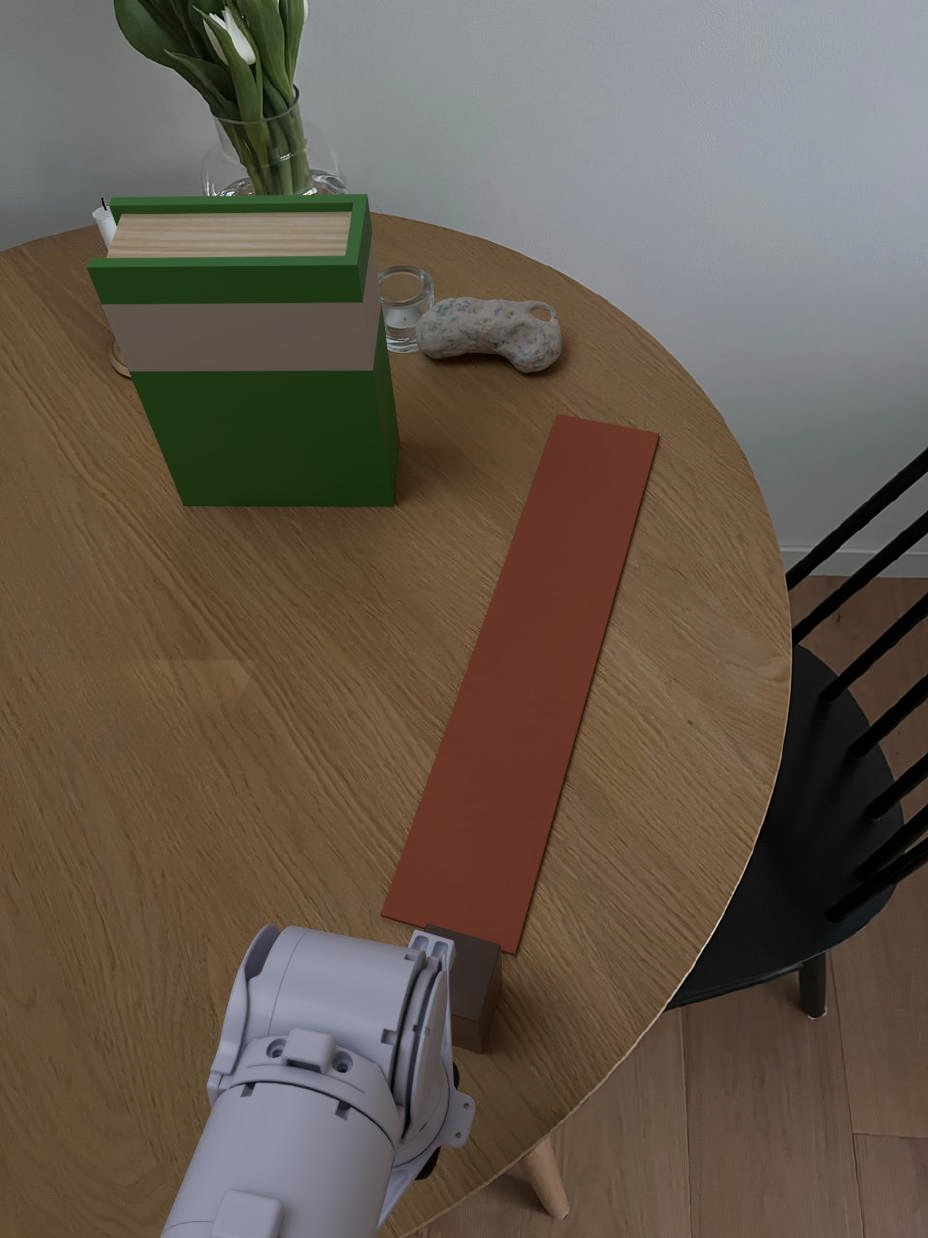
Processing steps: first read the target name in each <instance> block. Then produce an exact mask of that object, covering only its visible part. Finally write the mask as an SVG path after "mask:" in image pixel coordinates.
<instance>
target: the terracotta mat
mask: <svg viewBox="0 0 928 1238" xmlns="http://www.w3.org/2000/svg"><path fill="white" fill-rule="evenodd" d="M659 439H660V433H659V432H656V431H655V432H654V431H650V430H644V429H639V428H634V427H629V426H623V425H617V424H613V423H608V422H602V421H597V420H593V419H588V418H587V419H586V418H581V417H576V416H572V415H571V416H570V415H566V414H559V413H557V414H556V415H555V418H554V422H553V424H552V427H551V430H550V433H549V435H548V438H547V441H546V444H545V447H544V449H543V452H542V455H541V458H540V461H539V464H538V467H537V470H536V473H535V475H534V478H533V480H532V484H531V486H530V489H529V493H528V495H527V498H526V501H525V504H524V506H523V509H522V512H521V515H520V517H519V520H518V524H517V525H516V529H515V531H514V535H513V538H512V540H511V543H510V546H509V550H508V551H507V554H506V557H505V560H504V563H503V565H502V568H501V571H500V574H499V578H498V580H497V583H496V586H495V589H494V592H493V594H492V597H491V600H490V602H489V606H488V609H487V611H486V614H485V617H484V619H483V623H482V626H481V628H480V631H479V634H478V636H477V639H476V642H475V644H474V645H475V646H474V648H473V651H472V653H471V656H470V659H469V662H468V665H467V668H466V670H465V674H464V677H463V678H462V682H461V684H460V688H459V691H458V693H457V696H456V699H455V702H454V706H453V708H452V710H451V713H450V716H449V718H448V722H447V724H446V727H445V730H444V733H443V735H442V739H441V742H440V744H439V747H438V750H437V753H436V756H435V759H434V762H433V764H432V766H431V770H430V773H429V775H428V778H427V781H426V784H425V787H424V790H423V792H422V796H421V799H420V801H419V804H418V807H417V808H416V809H417V810H416V813H415V815H414V818H413V821H412V823H411V827H410V830H409V832H408V835H407V838H406V840H405V843H404V846H403V849H402V852H401V855H400V858H399V861H398V863H397V866H396V870H395V872H394V874H393V877H392V880H391V883H390V885H389V889H388V892H387V895H386V898H385V900H384V903H383V906H382V908H381V911H380V917H382V918H384V919H385V918H386V919H389V920H392V921H394V922H395V921H396V922H399V923H403V924H405V925H409V926H413V927H416V928H418V929H423V930H425V927H426V924H427V923H429V924H432V925H436V926H439V927H443V928H446V929H449V930H453V931H456V932H460V933H463V934H466V935H470V936H473V937H477V938H480V939H483V940H487V941H490V942H493V943H497V944H500V945H501V953H504V954H507V955H510V956H516V954H517V951H518V947H519V943H520V940H521V936H522V932H523V930H524V926H525V923H526V918H527V915H528V911H529V907H530V903H531V901H532V896H533V893H534V889H535V885H536V882H537V878H538V875H539V871H540V868H541V863H542V862H543V861H542V860H543V857H544V853H545V849H546V846H547V843H548V839H549V835H550V832H551V827H552V824H553V820H554V817H555V813H556V810H557V806H558V803H559V799H560V796H561V792H562V788H563V785H564V781H565V778H566V773H567V770H568V767H569V764H570V759H571V755H572V752H573V749H574V745H575V741H576V738H577V735H578V730H579V727H580V723H581V719H582V716H583V712H584V709H585V705H586V702H587V698H588V695H589V691H590V687H591V683H592V681H593V678H594V677H593V676H594V673H595V669H596V666H597V662H598V658H599V654H600V652H601V648H602V643H603V640H604V636H605V633H606V630H607V625H608V622H609V619H610V615H611V611H612V607H613V605H614V600H615V597H616V593H617V590H618V586H619V583H620V579H621V575H622V573H623V572H622V571H623V568H624V564H625V561H626V557H627V553H628V549H629V546H630V543H631V540H632V536H633V533H634V529H635V525H636V521H637V517H638V514H639V510H640V507H641V502H642V500H643V497H644V493H645V489H646V485H647V482H648V478H649V474H650V471H651V466H652V463H653V461H654V460H653V459H654V455H655V452H656V449H657V446H658V443H659Z"/></svg>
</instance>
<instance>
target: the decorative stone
mask: <svg viewBox="0 0 928 1238" xmlns="http://www.w3.org/2000/svg"><path fill="white" fill-rule="evenodd" d="M539 309H541V310H545V311H548V312H549V313H550V320H549V321H547V320H541V319H539V318H537V317H534V316H533V311H535V310H539ZM414 330H415V331H414V337H415V342H416V346H417V348H418V349H419V350H420V351H421V352H422V353H423V354H424V355H426V356H427V357H429V358H431V359H435V360H438V359H442V358H443V359H445V358H448V357H450V358H451V357H458V356H461V355H465V354H471V353H472V354H473V353H474V354H475V353H480V354H490V355H491V354H492V355H500V356H501V357H504V358H506V359H507V360H508V361H509V362H510V363H511V365H512V366H513V368H515V369H516V370H517V371H519V372H521V373H523V374H527V373H535V372H536V373H537V372H540V371H543V370H545V369H547V368H548V367H550V366H551V365H552V364H553V363H555V362H556V361H557V360H558V359H559V357H560V356H561V353H562V347H563V343H562V341H563V336H562V331H561V325H560V320H559V316H558V313H557V311H556V310H555V308H554V307H553V306H551V305H550V304H549V303H546V302H544V301H541V300H539V301H538V300H533V299H531V300H524V301H514V300H505V299H487V300H484V299H480V298H476V297H471V296H461V297H460V296H459V297H456V298H454V297H449V298H444V299H442V300H441V301H438V302H436V303H435V304H434V305H433V306H432V307H431V308H429V309H428V310H427V311H426V312H424V313H423V314H422V315H421V317H420V318H419V319H418V321H417V323H416V325H415V329H414Z"/></svg>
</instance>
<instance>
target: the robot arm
mask: <svg viewBox="0 0 928 1238" xmlns="http://www.w3.org/2000/svg"><path fill="white" fill-rule="evenodd" d="M455 956H456V949H455V943H454V941H453V940H450V939H446V938H443V937H440V936H436V935H433V934H429V933H426V932H424V931H423V930H419V929H414V930H413V932H412V935H411V938H410V940H409V942H408V945H407V946H402V945H396V944H392V943H386V942H382V941H376V940H372V939H366V938H361V937H355V936H351V935H345V934H341V933H340V934H339V933H334V932H330V931H325V930H320V929H319V930H318V929H314V928H309V927H305V926H299V925H294V924H291V925H288V926H287V927H285V928H284V929H283V930H282V931H280V929H279V927H278V926H277V925H276V924H274V923H267V924H266V925H264V926H263V927H262V928H260V930H259V931H258V932H257V934H256V935H255V936H254V938H253V939H252V941H251V943H250V945H249V946H248V948H247V951H246V953H245V955H244V957H243V959H242V961H241V963H240V966H239V967H238V970H237V973H236V976H235V978H234V982H233V985H232V989H231V991H230V994H229V999H228V1002H227V1007H226V1010H225V1014H224V1019H223V1022H222V1023H223V1024H222V1029H221V1035H220V1039H219V1044H218V1047H217V1051H216V1054H215V1057H214V1059H213V1061H212V1065H211V1067H210V1071H209V1072H210V1074H209V1077H208V1080H207V1083H206V1092H207V1096H208V1101H209V1104H210V1108H211V1110H210V1113H209V1116H208V1118H207V1121H206V1123H205V1126H204V1128H203V1131H202V1133H201V1136H200V1138H199V1140H198V1143H197V1146H196V1148H195V1150H194V1152H193V1155H192V1157H191V1160H190V1162H189V1165H188V1168H187V1170H186V1172H185V1174H184V1177H183V1180H182V1182H181V1184H180V1187H179V1189H178V1192H177V1194H176V1196H175V1200H174V1202H173V1204H172V1206H171V1209H170V1211H169V1214H168V1216H167V1219H166V1222H165V1224H164V1227H163V1229H162V1231H161V1233H160V1237H159V1238H376V1236H377V1235H378V1233H379V1232H380V1231H381V1229H382V1228H383V1226H384V1225H385V1223H386V1222H387V1220H388V1219H389V1217H390V1216H391V1215H392V1213H393V1211H394V1210H395V1209H396V1207H397V1206H398V1205H399V1203H400V1202H401V1200H402V1199H403V1197H404V1195H406V1193H407V1191H408V1190H409V1189H410V1188H411V1186H412V1184H413V1183H414V1181H422V1180H426V1179H428V1178H429V1177H430V1176H431V1174H432V1173H433V1172H434V1170H435V1168H436V1166H437V1163H438V1160H439V1157H440V1153H441V1149H442V1146H446V1147H450V1148H454V1149H460V1148H462V1147H464V1146H465V1145H466V1144H467V1142H468V1140H469V1138H470V1134H471V1130H472V1127H473V1124H474V1119H475V1116H476V1109H477V1107H476V1106H477V1105H476V1103H475V1100H474V1099H473V1098H472V1097H471V1096H470V1095H469V1094H466V1093H462V1092H460V1091H459V1085H460V1080H461V1074H460V1070H459V1068H458V1065H457V1064H456V1062H455V1061H454V1060H453V1059H454V1058H453V1056H454V1055H453V1045H452V1034H451V1011H450V989H449V979H450V970H451V968H452V966H453V962H454V959H455ZM466 1107H468V1108H466ZM458 1135H459V1136H460V1138H457V1136H458Z"/></svg>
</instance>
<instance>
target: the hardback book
mask: <svg viewBox="0 0 928 1238" xmlns="http://www.w3.org/2000/svg"><path fill="white" fill-rule="evenodd" d="M369 203H370V202H369V195H368V193H343V194H341V193H340V194H339V193H338V194H335V193H334V194H333V193H332V194H270V195H269V194H268V195H267V194H263V195H262V194H260V195H258V194H257V195H255V194H254V195H189V196H188V195H185V196H184V195H183V196H181V195H180V196H112V197H110V201H109V205H108V207H109V210H110V212H111V213H110V214H111V216H112V218H113V221H114V224H115V226H116V228H115V232H114V233H113V237H112V241H111V242H110V245H109V249H108V252H107V254H106V257H89V259H88V262H87V265H86V270H87V271H88V275H89V277H90V280H91V283H92V285H93V287H94V290H95V292H96V294H97V297H98V299H99V302H100V304H101V307H102V309H103V311H104V313H105V316H106V319H107V320H108V324H109V326H110V329H111V331H112V334H113V336H114V339H115V341H116V344H117V345H118V348H119V351H120V354H121V356H122V358H123V361H124V363H125V366H126V369H127V371H128V373H129V376H130V378H131V380H132V383H133V386H134V387H135V390H136V393H137V395H138V398H139V400H140V403H141V405H142V408H143V410H144V412H145V415H146V417H147V420H148V422H149V425H150V427H151V431H152V432H153V434H154V435H153V436H154V438H155V440H156V442H157V444H158V447H159V450H160V452H161V454H162V457H163V459H164V462H165V464H166V467H167V470H168V471H169V475H170V476H171V479H172V481H173V485H174V486H175V489H176V491H177V494H178V496H179V499H180V502H181V503H182V506H184V507H186V506H188V507H189V506H190V507H193V506H194V507H195V506H196V507H198V506H200V507H394V503H395V494H396V483H397V473H398V463H399V452H400V444H401V443H400V441H401V440H400V431H399V424H398V416H397V409H396V408H397V407H396V402H395V394H394V393H395V392H394V385H393V379H392V371H391V363H390V355H389V349H388V340H387V332H386V326H385V318H384V317H385V316H384V310H383V309H384V308H383V303H382V294H381V285H380V280H379V272H378V271H379V270H378V263H377V256H376V249H375V241H374V234H373V227H372V220H371V219H372V218H371V211H370V210H371V209H370V204H369Z"/></svg>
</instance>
